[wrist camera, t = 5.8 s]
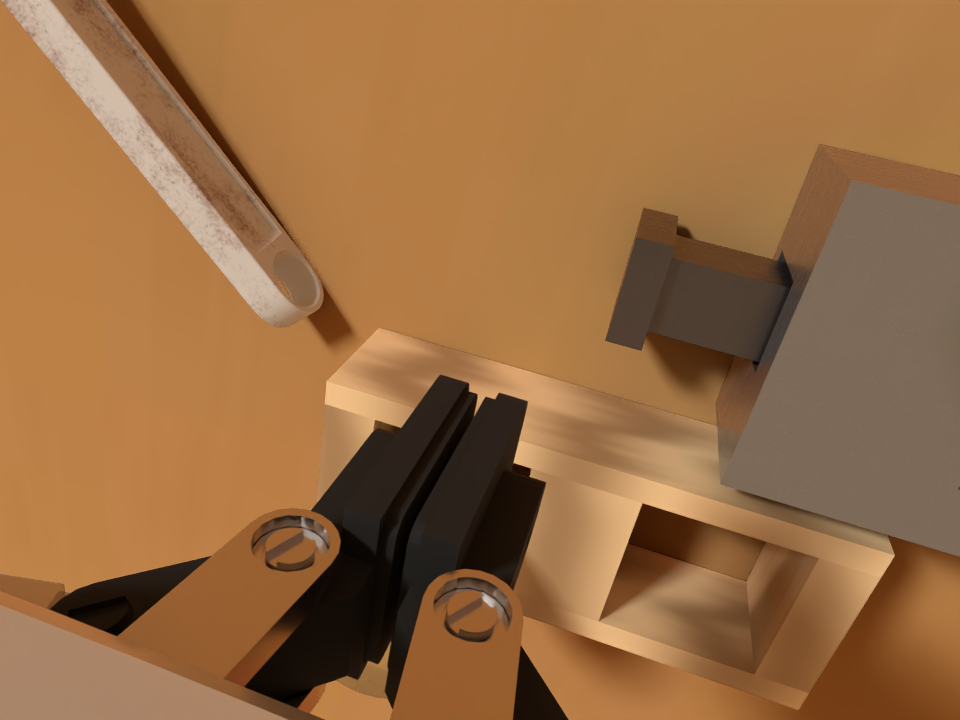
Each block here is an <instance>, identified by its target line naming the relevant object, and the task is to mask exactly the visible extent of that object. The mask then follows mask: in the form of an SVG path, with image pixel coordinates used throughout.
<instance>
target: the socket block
mask: <svg viewBox="0 0 960 720" xmlns="http://www.w3.org/2000/svg"><path fill="white" fill-rule="evenodd" d="M773 260H777V261H781V262H785V263H787V265H788V268H789V271H790V274H791V276H792V279H793V284H792V287H791V289H790V292H789V294H788V296H787V299H786V301H785V303H784V306H783V308H782V310H781V313H780V315H779V318H778V320H777V322H776V325H775V327H774V329H773V332H772V334H771V336H770V339H769V341H768V344H767V346H766V348H765V351H764V353H763V355H762V358H761V360H760V362H757V361H753V360H749V359H746V358H742V357H739V356H734V358H733V361H732V363H731V366H730V368H729V371H728V373H727V376H726V378H725V381H724V383H723V386H722V388H721V391H720V393H719V396H718V398H717V401H716V415H717V434H718V454H719V473H720V484H721V485H724V486H728V487H731V488H734V489H738V490H741V491H744V492H747V493H751V494H754V495H757V496H761V497H764V498H767V499H771V500H774V501H777V502H780V503H784V504H787V505H790V506H794V507H797V508H800V509H804V510H807V511H810V512H813V513H817V514H820V515H823V516H827V517H830V518H833V519H836V520H840V521H843V522H846V523H850V524H853V525H856V526H860V527H863V528H866V529H869V530H873V531H876V532H879V533H883V534H886V535H889V536H893V537H896V538H899V539H902V540H906V541H909V542H912V543H916V544H919V545H922V546H926V547H929V548H932V549H935V550H939V551H942V552H945V553H949V554H952V555H955V556H959V557H960V176H957V175H953V174H949V173H944V172H940V171H935V170H931V169H927V168H922V167H918V166H913V165H909V164H904V163H900V162H896V161H891V160H887V159H882V158H878V157H874V156H869V155H865V154H860V153H856V152H852V151H847V150H843V149H838V148H834V147H830V146H825V145H821V144H819V147H818V149H817V152H816V154H815V157H814V159H813V162H812V164H811V167H810V169H809V172H808V174H807V177H806V179H805V182H804V184H803V187H802V189H801V192H800V194H799V197H798V199H797V202H796V204H795V207H794V209H793V212H792V214H791V217H790V219H789V222H788V224H787V226H786V229H785V231H784V234H783V236H782V239H781V241H780V244H779V246H778V249H777V251H776V254H775V256H774V259H773Z"/></svg>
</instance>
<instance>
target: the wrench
mask: <svg viewBox="0 0 960 720" xmlns="http://www.w3.org/2000/svg"><path fill="white" fill-rule="evenodd" d="M1 1H2V2H3V3H4V5H5V6H6V7H7V8H8V10H9V11H10V12H11V13H12V14H13V16H14V17H15V18H16V19H17V21H18V22H19V23H20V24H21V25H22V27H23V28H24V29H25V30H26V32H27V33H28V34H29V35H30V37H31V38H32V39H33V40H34V41H35V43H36V44H37V45H38V46H39V48H40V49H41V50H42V51H43V52H44V54H45V55H46V56H47V57H48V59H49V60H50V61H51V62H52V64H53V65H54V66H55V67H56V68H57V70H58V71H59V72H60V73H61V75H62V76H63V77H64V78H65V80H66V81H67V82H68V83H69V84H70V86H71V87H72V88H73V89H74V91H75V92H76V93H77V94H78V95H79V97H80V98H81V99H82V100H83V102H84V103H85V104H86V105H87V107H88V108H89V109H90V110H91V111H92V113H93V114H94V115H95V116H96V118H97V119H98V120H99V121H100V122H101V124H102V125H103V126H104V127H105V129H106V130H107V131H108V132H109V134H110V135H111V136H112V137H113V138H114V140H115V141H116V142H117V143H118V145H119V146H120V147H121V148H122V149H123V151H124V152H125V153H126V154H127V156H128V157H129V158H130V159H131V161H132V162H133V163H134V164H135V165H136V167H137V168H138V169H139V170H140V172H141V173H142V174H143V175H144V176H145V178H146V179H147V180H148V181H149V183H150V184H151V185H152V186H153V188H154V189H155V190H156V191H157V192H158V194H159V195H160V196H161V197H162V199H163V200H164V201H165V202H166V204H167V205H168V206H169V207H170V208H171V210H172V211H173V212H174V213H175V215H176V216H177V217H178V218H179V219H180V221H181V222H182V223H183V224H184V226H185V227H186V228H187V229H188V231H189V232H190V233H191V234H192V235H193V237H194V238H195V239H196V240H197V242H198V243H199V244H200V245H201V246H202V248H203V249H204V250H205V251H206V253H207V254H208V255H209V256H210V258H211V259H212V260H213V261H214V262H215V264H216V265H217V266H218V267H219V269H220V270H221V271H222V272H223V273H224V275H225V276H226V277H227V278H228V280H229V281H230V282H231V283H232V285H233V286H234V287H235V288H236V289H237V291H238V292H239V293H240V294H241V296H242V297H243V298H244V299H245V300H246V302H247V303H248V304H249V306H250V307H251V308H252V309H253V310H254V311H255V312H256V314H257V315H258V316H259V317H260V318H262V319H263V320H264V321H266V322H267V323H269V324H270V325H273V326H275V327H278V328H281V327H289V326H291V325H293V324H294V323H296V322H298V321H300V320H301V319H303V318H305V317H307V316H308V315H310V314H312V313H314V312H315V311H317V310H318V309H319V308H320V307H321V305H322V303H323V298H324V292H323V288H322V284H321V281H320V280H319V278H318V277H317V275H316V274H315V272H314V271H313V269H312V268H311V266H310V265H309V263H308V262H307V260H306V259H305V257H304V256H303V254H302V253H301V251H300V250H299V249H298V247H297V246H296V245H295V244H294V242H293V241H292V240H291V238H290V237H289V236H288V234H287V233H286V232H285V230H284V229H283V228H282V227H281V225H280V224H279V223H278V221H277V220H276V219H275V218H274V216H273V215H272V214H271V213H270V211H269V210H268V209H267V207H266V206H265V205H264V204H263V202H262V201H261V200H260V199H259V197H258V196H257V195H256V193H255V192H254V191H253V190H252V188H251V187H250V186H249V185H248V183H247V182H246V181H245V179H244V178H243V177H242V176H241V174H240V173H239V172H238V171H237V169H236V168H235V167H234V165H233V164H232V163H231V162H230V160H229V159H228V158H227V156H226V155H225V154H224V153H223V151H222V150H221V149H220V147H219V146H218V145H217V143H216V142H215V141H214V140H213V138H212V137H211V136H210V134H209V133H208V132H207V130H206V129H205V128H204V127H203V125H202V124H201V123H200V121H199V120H198V119H197V117H196V116H195V115H194V114H193V112H192V111H191V110H190V108H189V107H188V106H187V104H186V103H185V102H184V101H183V99H182V98H181V97H180V95H179V94H178V93H177V91H176V90H175V89H174V88H173V86H172V85H171V84H170V82H169V81H168V80H167V78H166V77H165V76H164V75H163V73H162V72H161V71H160V69H159V68H158V67H157V65H156V64H155V63H154V62H153V60H152V59H151V58H150V56H149V55H148V54H147V53H146V51H145V50H144V49H143V47H142V46H141V45H140V44H139V42H138V41H137V40H136V38H135V37H134V36H133V35H132V33H131V32H130V31H129V29H128V28H127V27H126V26H125V24H124V23H123V22H122V20H121V19H120V18H119V17H118V15H117V14H116V13H115V11H114V10H113V9H112V8H111V6H110V5H109V4H108V2H107V1H106V0H1ZM275 275H276V276H277V277H278V278H279V279H280V280H281V281H282V282H283V283H284V285H285V286H286V288H287V290H288V291H289V294H290V297H291V300H292V301H291V300H290V299H289V298H288V297H287V296H286V295H285V294H284V293H283V291H282V289H281V287H280V285H279V283H278V280H277V278H276V276H275Z"/></svg>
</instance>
